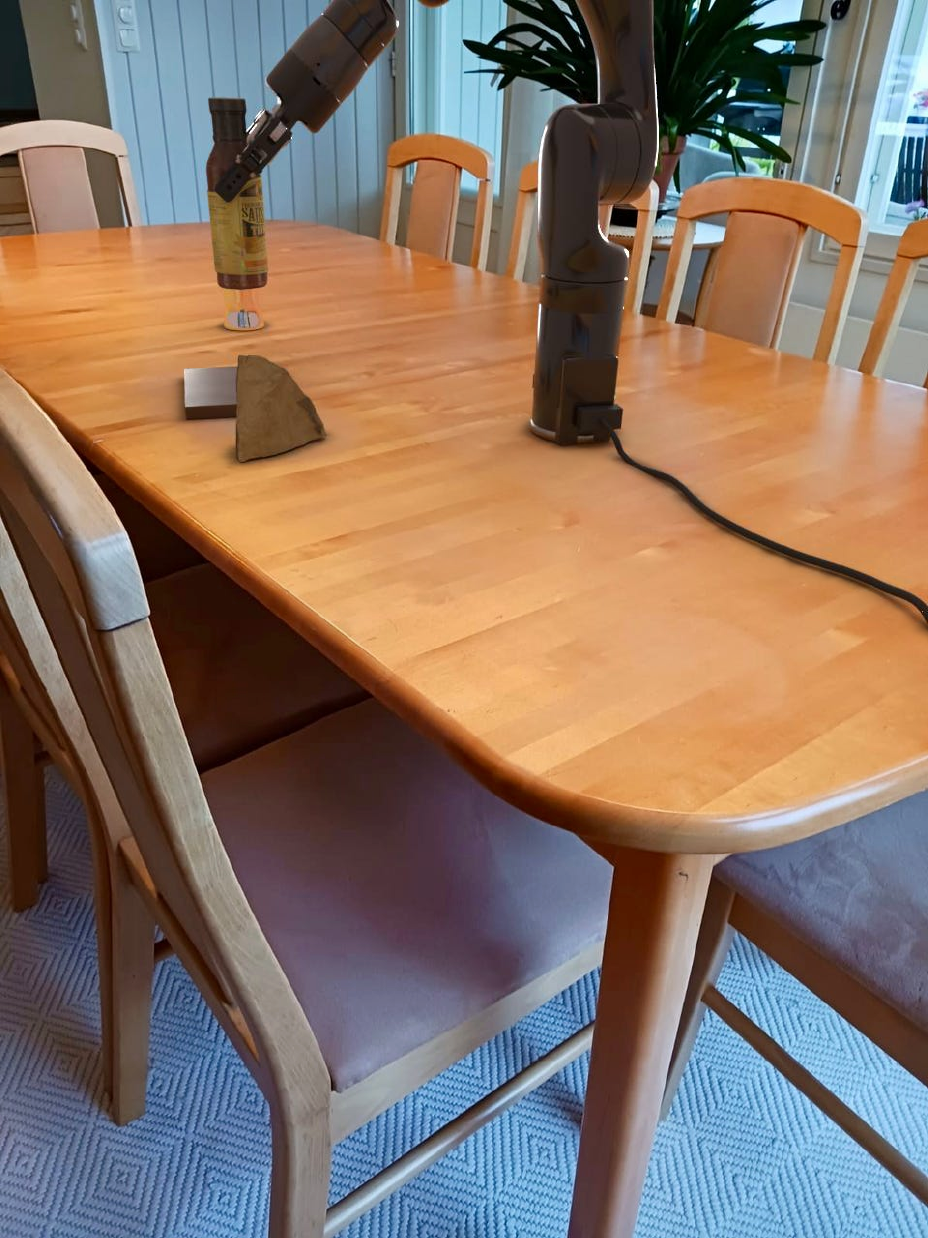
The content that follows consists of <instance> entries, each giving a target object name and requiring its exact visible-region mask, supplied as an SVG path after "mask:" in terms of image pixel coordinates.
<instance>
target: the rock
mask: <svg viewBox="0 0 928 1238" xmlns="http://www.w3.org/2000/svg"><path fill="white" fill-rule="evenodd" d="M236 367H237V373H236V393H237V397H236V402H237V408H236V416H237V417H235V420H236V421H235V456H236V459H238V462H240V463H245V462H247V461H248V460H251V459H258V458H266V457H271V456H276V455H279V454H282V453H285V452H287V451H290V450H293V449H294V448H297V447H301V446H303V445H305V444H307V443H309V442H313V441H316V440H318V439H322V438H323V437H326V436H327V432H326V430H325V425H324V423H323V421H322V419H321V417H320V414H319V413H318V411H317V408H316V406H315V404H314V401H313V400H312V399H311V398H310V397H309V396H308V395H307V394H305V392H304V391H303V390H302V389H301V388H300V386H299V385H298V383H297V382H296V381H295V380H294V378H292V376H291V373H290V372H289V370H288V369H286V368H285V367H283V366H280V365H279V364H277V363H275V362H273V361H270V360H269V359H267V358H266V357H264V356H261V355H258V354H247V355H245V354H238V356H237V366H236Z"/></svg>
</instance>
